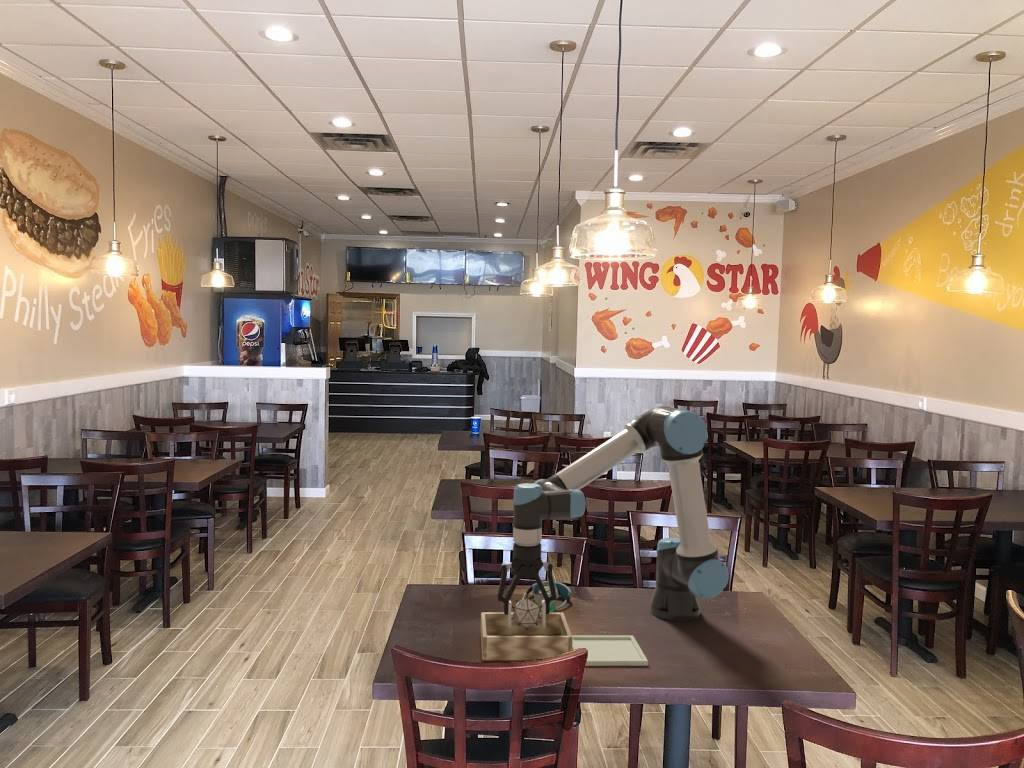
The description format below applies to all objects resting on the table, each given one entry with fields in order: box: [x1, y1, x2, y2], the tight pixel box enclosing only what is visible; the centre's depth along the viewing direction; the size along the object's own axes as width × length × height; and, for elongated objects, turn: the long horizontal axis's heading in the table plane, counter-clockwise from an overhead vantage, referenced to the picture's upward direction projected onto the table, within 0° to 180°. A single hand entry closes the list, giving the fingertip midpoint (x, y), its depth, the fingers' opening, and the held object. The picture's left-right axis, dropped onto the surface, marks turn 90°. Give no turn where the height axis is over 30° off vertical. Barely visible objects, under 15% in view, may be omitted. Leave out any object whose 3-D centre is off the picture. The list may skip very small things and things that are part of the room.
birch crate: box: [480, 611, 573, 661], centre depth 204 cm, size 23×18×6 cm
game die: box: [511, 594, 543, 631], centre depth 204 cm, size 9×8×10 cm
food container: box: [533, 583, 559, 613], centre depth 221 cm, size 12×6×10 cm, turn 168°
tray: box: [571, 634, 649, 667], centre depth 202 cm, size 18×17×1 cm
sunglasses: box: [521, 580, 572, 612], centre depth 238 cm, size 14×15×5 cm
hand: (526, 625), depth 204 cm, fingers closed on game die, 8 cm apart
